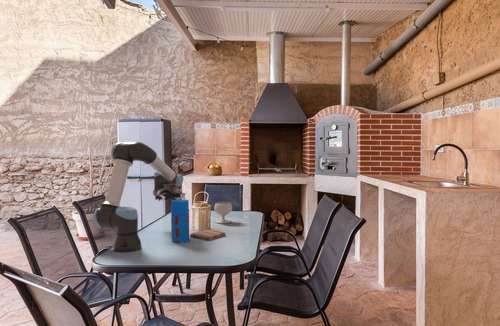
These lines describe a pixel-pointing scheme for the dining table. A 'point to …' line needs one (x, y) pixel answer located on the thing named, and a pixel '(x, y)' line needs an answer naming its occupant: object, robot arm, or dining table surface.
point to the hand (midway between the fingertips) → (174, 197)
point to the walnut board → (207, 234)
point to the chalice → (223, 210)
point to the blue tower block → (180, 220)
